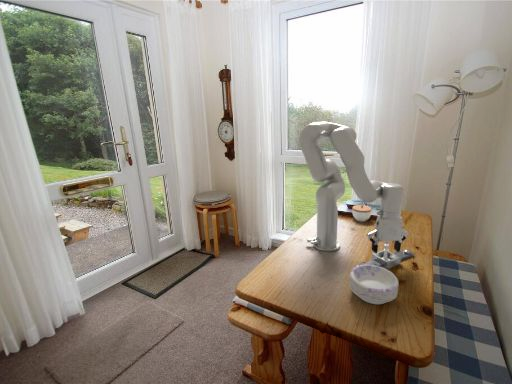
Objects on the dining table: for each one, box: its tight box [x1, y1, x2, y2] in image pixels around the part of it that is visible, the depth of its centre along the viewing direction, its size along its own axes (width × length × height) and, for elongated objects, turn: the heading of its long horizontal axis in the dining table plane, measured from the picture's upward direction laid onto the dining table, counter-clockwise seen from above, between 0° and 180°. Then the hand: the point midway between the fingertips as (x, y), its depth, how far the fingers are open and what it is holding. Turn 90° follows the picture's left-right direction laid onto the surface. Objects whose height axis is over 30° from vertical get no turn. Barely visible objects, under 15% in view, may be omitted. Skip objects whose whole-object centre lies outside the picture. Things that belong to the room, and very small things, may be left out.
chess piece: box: [382, 241, 390, 261], centre depth 109 cm, size 5×5×10 cm
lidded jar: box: [352, 204, 373, 223], centre depth 155 cm, size 11×11×9 cm
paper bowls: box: [349, 265, 400, 305], centre depth 89 cm, size 15×15×8 cm
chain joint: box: [354, 248, 416, 270], centre depth 110 cm, size 30×8×3 cm, turn 113°
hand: (385, 251), depth 109 cm, fingers open, 9 cm apart
